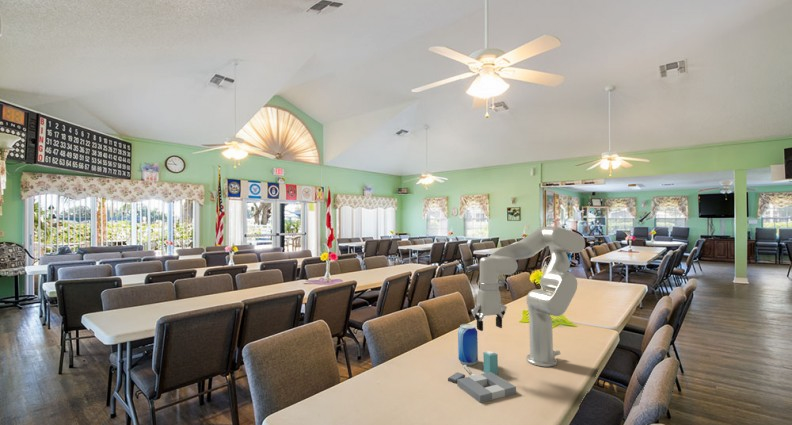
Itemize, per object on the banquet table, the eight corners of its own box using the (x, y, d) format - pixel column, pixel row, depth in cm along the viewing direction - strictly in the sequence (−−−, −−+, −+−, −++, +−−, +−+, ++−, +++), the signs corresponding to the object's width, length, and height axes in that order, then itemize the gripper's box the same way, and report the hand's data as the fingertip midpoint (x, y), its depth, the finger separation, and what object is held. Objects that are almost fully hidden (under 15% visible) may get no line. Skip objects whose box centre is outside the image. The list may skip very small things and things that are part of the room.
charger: (491, 370, 148) (491, 349, 149) (497, 373, 145) (497, 353, 145) (483, 371, 147) (483, 351, 147) (489, 375, 143) (489, 354, 143)
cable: (463, 367, 151) (463, 364, 151) (465, 367, 152) (465, 364, 152) (472, 378, 141) (472, 375, 141) (475, 378, 141) (475, 375, 141)
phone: (457, 374, 144) (457, 372, 144) (465, 377, 142) (465, 374, 142) (448, 380, 139) (447, 377, 139) (455, 383, 136) (455, 380, 136)
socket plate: (491, 377, 141) (491, 371, 141) (516, 393, 128) (516, 386, 128) (457, 385, 134) (457, 379, 135) (480, 402, 122) (479, 395, 122)
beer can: (466, 367, 151) (466, 329, 152) (454, 360, 159) (454, 325, 159) (481, 363, 155) (481, 327, 156) (469, 357, 163) (469, 322, 163)
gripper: (499, 284, 154) (500, 323, 153) (466, 287, 147) (466, 328, 146) (511, 287, 147) (512, 328, 146) (477, 290, 140) (478, 333, 139)
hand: (489, 328), depth 146 cm, fingers open, 9 cm apart
